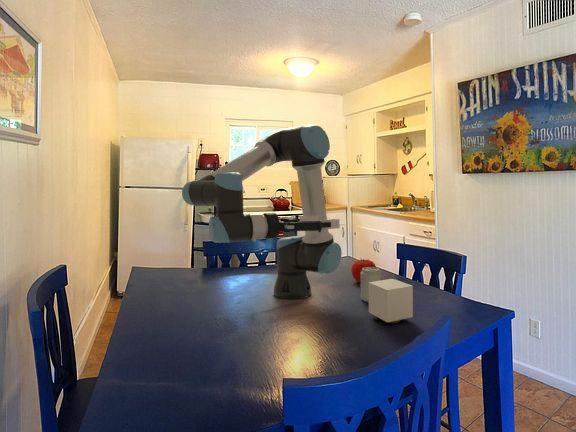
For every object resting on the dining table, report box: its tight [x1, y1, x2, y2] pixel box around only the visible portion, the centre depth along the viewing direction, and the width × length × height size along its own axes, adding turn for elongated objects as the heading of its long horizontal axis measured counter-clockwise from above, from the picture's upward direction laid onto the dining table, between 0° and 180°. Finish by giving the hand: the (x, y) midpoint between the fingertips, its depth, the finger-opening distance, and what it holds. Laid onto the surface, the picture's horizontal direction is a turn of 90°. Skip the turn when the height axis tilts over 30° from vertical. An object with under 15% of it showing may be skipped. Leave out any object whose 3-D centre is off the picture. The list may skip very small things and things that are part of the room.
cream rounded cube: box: [368, 278, 414, 323], centre depth 115 cm, size 10×10×10 cm
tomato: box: [350, 257, 377, 284], centre depth 160 cm, size 11×13×10 cm
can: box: [360, 267, 382, 303], centre depth 135 cm, size 8×8×12 cm
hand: (327, 221), depth 114 cm, fingers open, 13 cm apart
